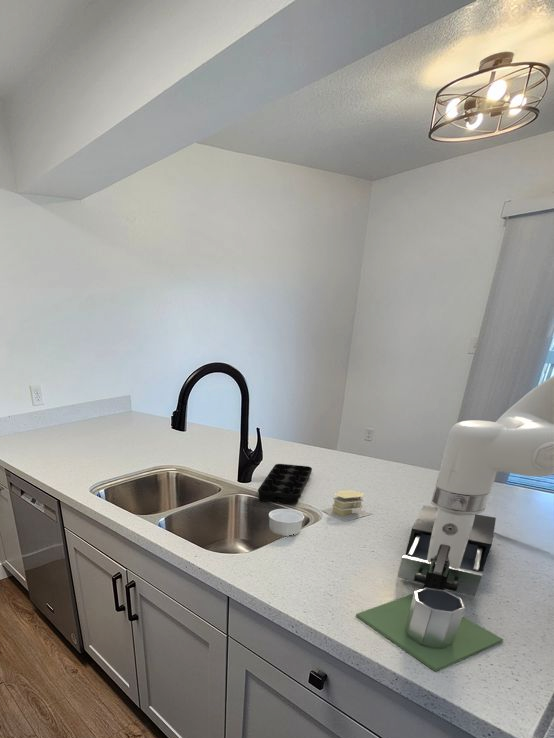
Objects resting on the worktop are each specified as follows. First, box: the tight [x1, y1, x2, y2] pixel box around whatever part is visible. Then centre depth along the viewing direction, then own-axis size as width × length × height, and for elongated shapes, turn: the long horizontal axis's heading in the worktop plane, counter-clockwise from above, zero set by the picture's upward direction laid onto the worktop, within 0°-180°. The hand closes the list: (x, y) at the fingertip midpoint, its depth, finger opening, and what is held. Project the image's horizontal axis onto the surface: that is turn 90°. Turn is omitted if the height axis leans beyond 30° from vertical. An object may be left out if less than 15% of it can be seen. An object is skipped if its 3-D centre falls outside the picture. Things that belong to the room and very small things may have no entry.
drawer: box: [396, 533, 484, 598], centre depth 89 cm, size 19×13×5 cm
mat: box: [355, 593, 504, 673], centre depth 77 cm, size 16×16×1 cm
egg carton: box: [257, 463, 313, 505], centre depth 141 cm, size 18×30×4 cm, turn 166°
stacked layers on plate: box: [320, 489, 373, 522], centre depth 122 cm, size 10×9×6 cm
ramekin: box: [268, 508, 305, 537], centre depth 114 cm, size 9×9×4 cm
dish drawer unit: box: [405, 505, 497, 573], centre depth 100 cm, size 16×15×7 cm
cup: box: [406, 587, 466, 648], centre depth 73 cm, size 7×7×8 cm
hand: (433, 589), depth 80 cm, fingers closed
